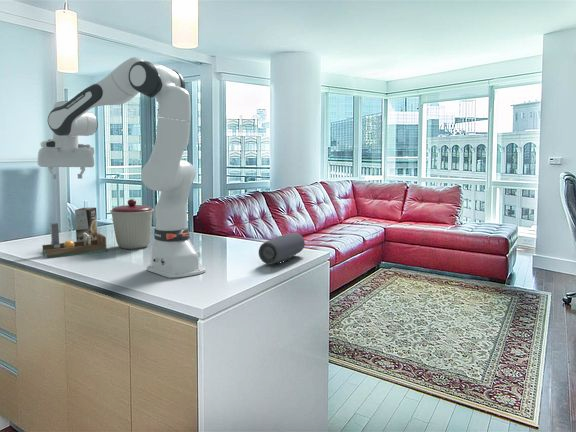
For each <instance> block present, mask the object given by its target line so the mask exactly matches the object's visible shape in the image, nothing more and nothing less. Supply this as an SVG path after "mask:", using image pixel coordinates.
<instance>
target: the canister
mask: <svg viewBox="0 0 576 432" xmlns="http://www.w3.org/2000/svg"><path fill="white" fill-rule="evenodd" d="M109 212H110V213H111V219H112V223H113V230H114V231H113V232H114V235H115V240H116V241H115V242H116V244H117V246H118V247H119V248H121V249H125V250H136V249H137V250H138V249H143V248H145V247H147V246H149V244H150V242H151V235H152V233H151V232H152V224H153V223H152V221H153V212H155V208H152V207H151V206H148V205H143V204H137V200H136V199H134V198H130V199H128V200H127V204H126V205H118V206H115V207H113V208H112V209H110V210H109Z"/></svg>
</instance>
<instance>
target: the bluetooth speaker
mask: <svg viewBox="0 0 576 432" xmlns="http://www.w3.org/2000/svg"><path fill="white" fill-rule="evenodd" d="M305 244H306V243H305V239H304V237H303V235H301V234H300V233H298V232H289V233H286V234H282V235H279V236H276V237H273V238H271V239H268V240H267V241H265V242H262V243H261V244H260V247H259V249H258V257H259V259H260V260H261V262H262V263H264V264H266V265H272V264H275V263H280V262H283V261H286V260H288V259H290V258H291V259H292V257H294V256H296V255H297V254H299V253H300V252H302V251H303V250H304V248H305ZM291 259H290V260H291ZM288 261H289V260H288ZM286 262H287V261H286Z"/></svg>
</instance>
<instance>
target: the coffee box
mask: <svg viewBox="0 0 576 432" xmlns="http://www.w3.org/2000/svg"><path fill="white" fill-rule="evenodd" d="M97 212H98V211H97V207H81V208H78V209H75V210H74V217H75V218H74V219H75V220H74V221H75V237H76V241H75V242H78V241H84V238H83V235H84V234H83V233H87V234H88V235H90V236H91V240H96V233H99V232H98V218H97V216H98V215H97ZM87 241H88V237H87Z"/></svg>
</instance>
